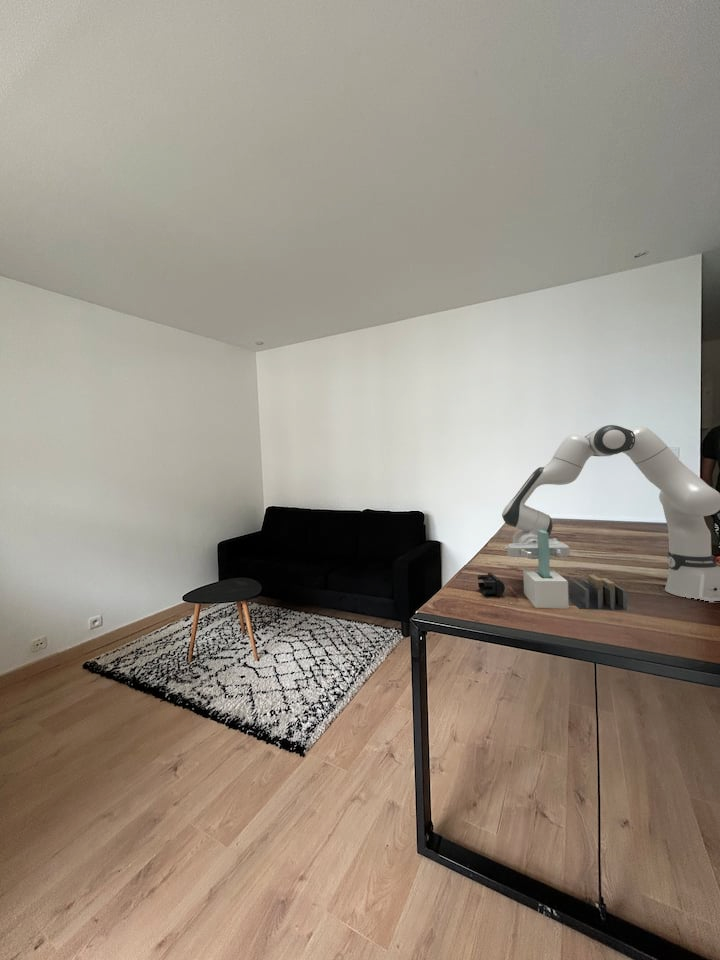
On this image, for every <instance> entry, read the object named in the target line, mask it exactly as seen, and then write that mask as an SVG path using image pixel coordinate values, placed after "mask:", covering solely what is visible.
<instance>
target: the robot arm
mask: <svg viewBox="0 0 720 960" xmlns="http://www.w3.org/2000/svg"><path fill="white" fill-rule="evenodd" d="M621 453H623V454H625V455H626V456H627V457H629V459H630V460H631V461H632V463H633V464H635V466H636V467H637V468H638V470H639V471H640V472H641V473H642V474H643V475H644V477H645V478H646V479H647V480H648V481H649V483H651V484H652V485H654V486H655V487H656V488H657V489H659V490H660V491H659V494H658V499H659V501H660V504H661V505H662V508H663V513H664V518H665V520H666V525H667V530H668V548H669V549H668V552H667V564H668V574H667V581H666V584H665V587H664V591H665V592H667V593H668V594H672V595H674V596H678V597H681V598H685V597H686V599H691V598H694V599H693V600H697V599H700V600H699V601H701V600H704V601H703V602H705V601H709V602H708V603H715V602H714V601H720V566H719V565H718V564H719V563H720V556H715V555H713V554H712V533H711V530H710V529H709V528H708V525H707V524H706V520H705V518H704V517H707V516H711V515H715V514H716V513H718V512H719V511H720V492H719V491H717V490H716V488H713V487H712V486H710V485H709V484H708V483H706V481H704V480H703V479H702V478H701V477H700V476H698V475H697V474H696V473H695V472H693V471H692V470H691V469H689V467H687V466H686V465H685V464H684V463H683V462H682V461H681V459H679V458H678V456H677V455H676V454H675V453H674V452H673V450H671V449H670V447H669V446H668V445H667V444H666V443H665V441H663V440H662V439H661V438H660V437H659V436H658V435H657V434H656V433H654V432H653V431H652V430H651V429H649V428H648V427H645V426H638V427H633V428H631V429H628V428H625V427H623V426H619V425H615V424H609V425H604V426H600V427H598V428H596V429H594V430H593V431H591V432H589V433H588V434H587V435H585V436H582V435H578V434H575V435H574V434H572V435H569V436H567V437H565V439H563V441H562V442H561V443H560V445H559V446H558V448H557V449H556V451H555V452H554V454H553V456H552V457H551V460H550V461H549V462H548V463H547V464H546V465H545V466H542V467H541V466H540V467H538V468H537V469H535V470H533V472H532V474H530V476H529V477H528V479H527V480H526V481H525V482H524V483H523V485H522V486H521V488H520V489H519V490H518V491H517V493H516V494H515V496H514V497H513V498H512V499H511V500H510V501H509V502H508V504H506V506H504V509H503V511H502V513H501V516H502V519H503V522H504V523H505V524H506V525H507V526H510V527H513V528H516V529H518V531H517V530H516V531H515V532H514V534H513V535H512V543H508V544H507V546H504V550H505V551H507V554H508V556H509V557H513V558H515V557H516V558H523V557H524V558H528V559H530V560H538V539H537V530H544V531H546V532H548V537H549V558H552V557H553V558H554V557H555V558H562V557H563V558H564V557H566V558H567V557H570V552H571V551H570V546H569V545H568V544H566V543H565V542H562V541H559V540H558V539H557V538H555V537H550V536H551V533H552V531H553V527H554V526H553V525H554V524H553V521H552V518H551V516H550V515H549V514H547V513H544V512H542V511H540V510H537V509H535V508H532V507H530V506H529V505H528V506H527V505H526V504H525V503H526V502H527V501H528V499H530V497H531V496H532V494H533V493H534V492H535V491H536V489H537V488H538V487H540V486H543V485H555V486H562V485H563V486H564V485H565V486H566V485H568V484H571V483H573V482H574V481H576V480H577V478H578V477H579V476H580V474H581V473H582V470H583V469H584V467H585V464H586V462H587V461H588V460H589V459H590V457H610V456H613V455H618V454H621Z"/></svg>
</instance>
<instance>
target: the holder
mask: <svg viewBox="0 0 720 960" xmlns="http://www.w3.org/2000/svg"><path fill="white" fill-rule="evenodd" d="M522 571H523V594H524V595H525V597H527V599H528V600H529V602H530V603H531V604H532V606H534V608H536V609H569V608H570V606H569V599H568V594H569V581H568V580H567V579H566V578H564V577H563V576H562V575H560V574H559V573H558V572H557V571H555V570H554V569H550V578H541V577H540V576H539V569H523V570H522Z"/></svg>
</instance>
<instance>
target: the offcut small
mask: <svg viewBox="0 0 720 960" xmlns="http://www.w3.org/2000/svg"><path fill="white" fill-rule="evenodd" d="M600 579H601V580H603V584H604V585H606V586H608V587H609V588H611V589H612V590H614V605H615V584H616V583H615V582H613V581H611V579H610V580H609V578H606V577H600Z"/></svg>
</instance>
